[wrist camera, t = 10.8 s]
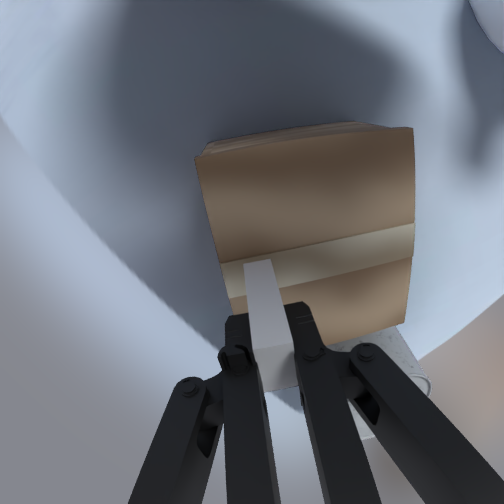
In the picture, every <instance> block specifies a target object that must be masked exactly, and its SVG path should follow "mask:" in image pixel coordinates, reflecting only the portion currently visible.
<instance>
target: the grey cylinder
mask: <svg viewBox="0 0 504 504" xmlns="http://www.w3.org/2000/svg"><path fill="white" fill-rule="evenodd" d="M368 342H370V343H373V344H376V345H378V346H379V347H380V348H381V349H382V350H383V351H384V352H385V353H386V354H387V355H388V356H389V357H390V358H391V359H392V360H393V361H394V362H395V363H396V364H397V365H398V366H399V367H400V368H401V369H402V370H403V372H404V373H405V374H406V375H407V376H408V377H409V378H410V379H411V380H412V381H413V382H414V383H415V384H416V385H417V386H418V387H419V388H420V389H421V390H422V392H423V393H424V394H425V395H426V396H427V397H428V398H429V397H430V394H431V391H432V383H431V381H430V379H429V378H428V377H427V376H426V375H425V373H424V371H423V370H422V368H421V366H420V365H419V363H418V361H417V360H416V358H415V356H414V355H413V353H412V352H411V350H410V348H409V347H408V345H407V344H406V342H405V340H404V339H403V337H402V336H401V334H400V333H399V331H398V330H397V328H396V326H392V327H389V328H386V329H383V330H380V331H376V332H373V333H370V334H366V335H363V336H360V337H356V338H353V339H349V340H346V341H342V342H338V343H335V344H331V345H327V346H326V347H327V348H329V349H331V350H333V351H338V352H350V351H351V350H352V348H353V347H354V346H356V345H357V344H360V343H368ZM347 401H348V404H349V407H350V410H351V412H352V415H353V418H354V421H355V424H356V427H357V430H358V433H359V436H360V439H361V440H365V439H369V438H373V437H375V435H374V434H373V432H372V431H371V430H370V428H369V427H368V426H367V424H366V423H365V422H364V420H363V419H362V418H361V416H360V415H359V413H358V412H357V411H356V409H355V408H354V407H353V405H352V404H351V403H350V401H349V400H348V399H347Z"/></svg>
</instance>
